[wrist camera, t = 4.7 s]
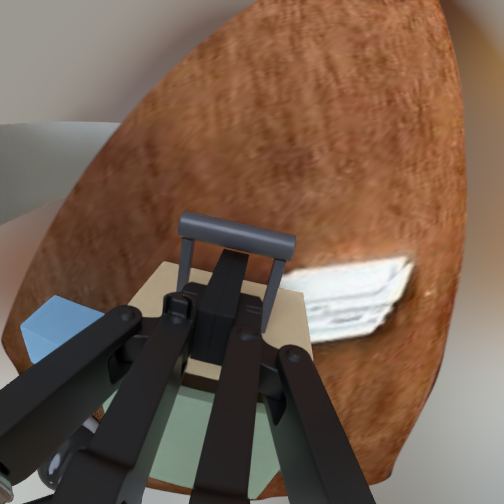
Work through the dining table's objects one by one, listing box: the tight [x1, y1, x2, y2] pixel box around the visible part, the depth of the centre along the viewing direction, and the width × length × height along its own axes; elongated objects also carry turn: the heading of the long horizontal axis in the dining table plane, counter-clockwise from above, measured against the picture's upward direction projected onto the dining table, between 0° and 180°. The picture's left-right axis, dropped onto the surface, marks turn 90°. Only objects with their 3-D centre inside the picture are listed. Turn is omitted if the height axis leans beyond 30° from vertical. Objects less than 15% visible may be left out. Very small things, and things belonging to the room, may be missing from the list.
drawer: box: [128, 211, 313, 404], centre depth 20 cm, size 20×11×10 cm, turn 168°
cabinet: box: [102, 386, 280, 499], centre depth 22 cm, size 15×13×12 cm
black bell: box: [37, 416, 99, 491], centre depth 28 cm, size 10×10×15 cm
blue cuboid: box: [20, 295, 105, 364], centre depth 24 cm, size 7×5×6 cm
